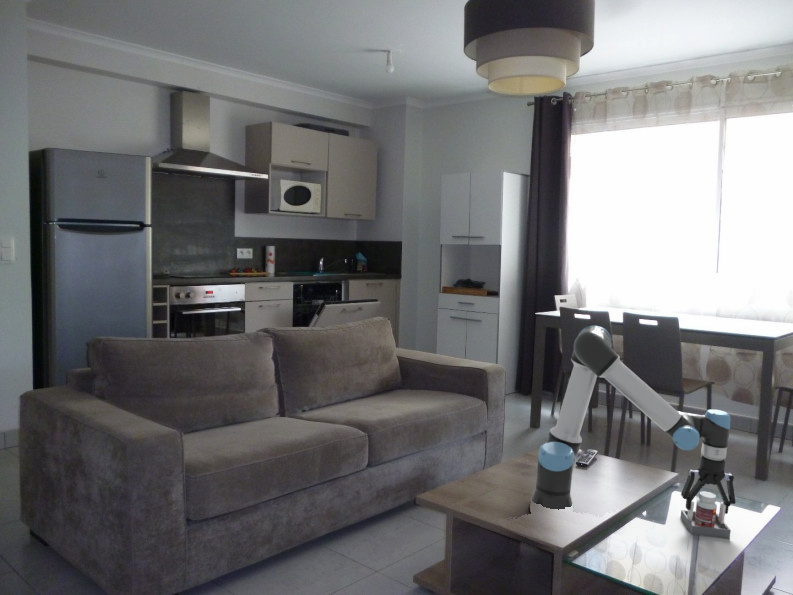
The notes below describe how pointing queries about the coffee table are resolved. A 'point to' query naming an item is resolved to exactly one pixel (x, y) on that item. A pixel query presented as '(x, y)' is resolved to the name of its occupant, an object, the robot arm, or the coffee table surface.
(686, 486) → the robot arm
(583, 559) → the coffee table surface
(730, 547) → the coffee table surface
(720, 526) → the tray
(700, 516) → the pill bottle
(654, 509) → the coffee table surface
